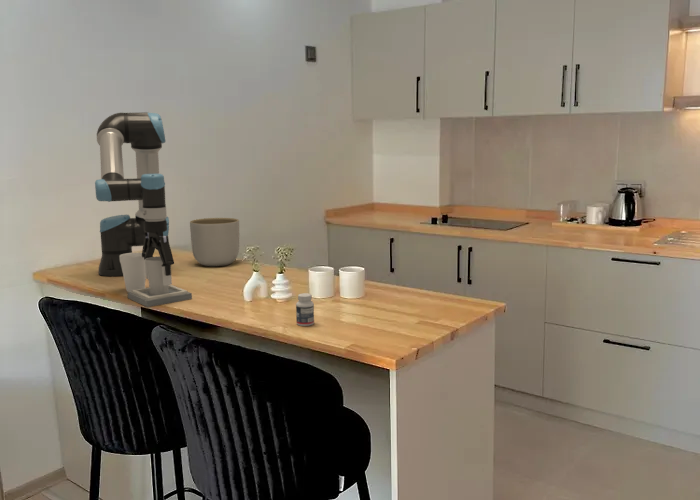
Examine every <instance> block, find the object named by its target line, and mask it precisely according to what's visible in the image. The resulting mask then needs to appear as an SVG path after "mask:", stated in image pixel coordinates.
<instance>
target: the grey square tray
mask: <svg viewBox="0 0 700 500" xmlns="http://www.w3.org/2000/svg"><path fill="white" fill-rule="evenodd" d="M127 299H128V300H131V301H133V302H136V303H137V304H140V305H142V306H144V307H147V308H149V307H150V308H151V307H155V306H161V305H167V304H171V303H177V302H182V301H188V300H192V299H193V294H192V292H190V291H188V290H187V289H184V288H181V287H179V286H178V287H177V286H176V285H173V284H170V285H169V293H167V294H162V295H151V294H150V288H149V287H145V288H143V289H136V290H131V292H128V291H127Z"/></svg>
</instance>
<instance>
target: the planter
mask: <svg viewBox="0 0 700 500" xmlns="http://www.w3.org/2000/svg"><path fill="white" fill-rule="evenodd" d="M189 230H190V242H191V251H192V256H193V257H194V260H195V261H196V262H197V263H198V264H200V265H201V266H204V267H223V266H228V265H231V264H233V262H234V261H236V259H237V258H238V256H239V253H240V219H238V218H231V217H208V218H207V217H206V218H198V219H197V218H196V219H192V220H190V221H189Z"/></svg>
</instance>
